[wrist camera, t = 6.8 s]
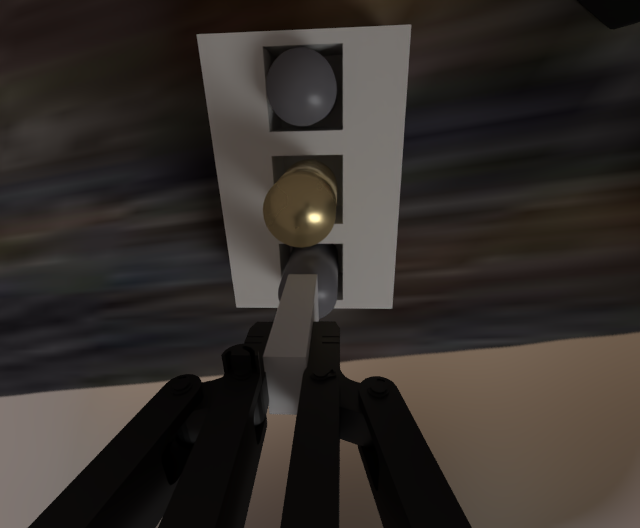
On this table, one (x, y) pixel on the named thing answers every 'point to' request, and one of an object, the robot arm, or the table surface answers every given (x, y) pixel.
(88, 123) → the table surface
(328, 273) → the knob
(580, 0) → the battery
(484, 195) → the table surface
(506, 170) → the table surface
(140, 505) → the robot arm
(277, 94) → the knob
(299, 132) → the knob housing
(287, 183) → the brass pot knob
